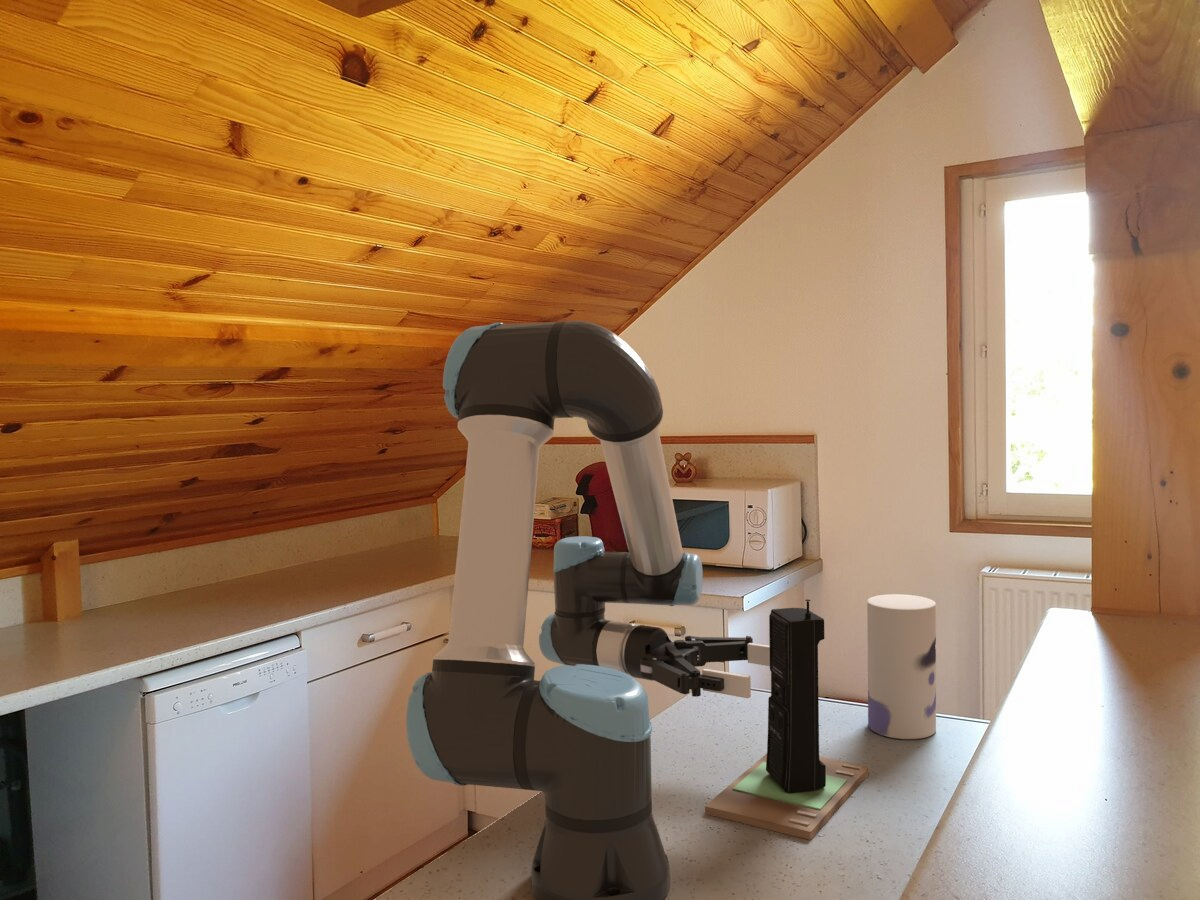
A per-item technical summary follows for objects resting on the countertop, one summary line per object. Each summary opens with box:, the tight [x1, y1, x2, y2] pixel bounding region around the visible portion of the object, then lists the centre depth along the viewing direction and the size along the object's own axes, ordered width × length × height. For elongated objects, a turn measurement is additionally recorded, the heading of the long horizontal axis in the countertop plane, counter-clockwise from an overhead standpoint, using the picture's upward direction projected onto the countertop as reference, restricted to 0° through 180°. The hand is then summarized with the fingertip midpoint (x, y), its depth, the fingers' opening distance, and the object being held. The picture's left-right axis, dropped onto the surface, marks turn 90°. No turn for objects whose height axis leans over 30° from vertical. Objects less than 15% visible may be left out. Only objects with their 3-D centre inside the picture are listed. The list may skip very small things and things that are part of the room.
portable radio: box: [766, 598, 826, 793], centre depth 128 cm, size 8×6×25 cm
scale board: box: [704, 753, 870, 841], centre depth 128 cm, size 22×14×1 cm, turn 147°
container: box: [866, 593, 937, 740], centre depth 149 cm, size 10×10×20 cm
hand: (771, 672), depth 129 cm, fingers open, 13 cm apart
